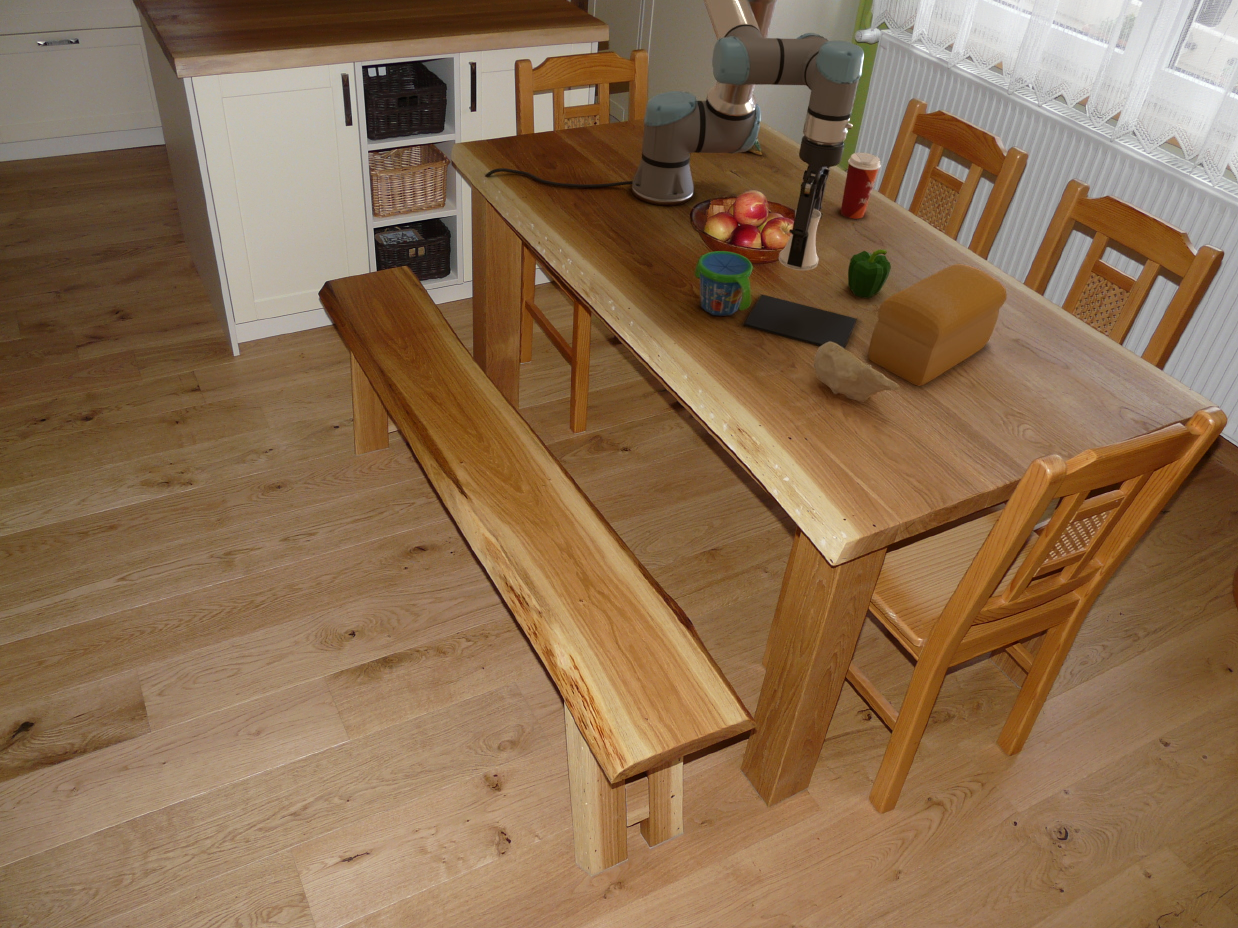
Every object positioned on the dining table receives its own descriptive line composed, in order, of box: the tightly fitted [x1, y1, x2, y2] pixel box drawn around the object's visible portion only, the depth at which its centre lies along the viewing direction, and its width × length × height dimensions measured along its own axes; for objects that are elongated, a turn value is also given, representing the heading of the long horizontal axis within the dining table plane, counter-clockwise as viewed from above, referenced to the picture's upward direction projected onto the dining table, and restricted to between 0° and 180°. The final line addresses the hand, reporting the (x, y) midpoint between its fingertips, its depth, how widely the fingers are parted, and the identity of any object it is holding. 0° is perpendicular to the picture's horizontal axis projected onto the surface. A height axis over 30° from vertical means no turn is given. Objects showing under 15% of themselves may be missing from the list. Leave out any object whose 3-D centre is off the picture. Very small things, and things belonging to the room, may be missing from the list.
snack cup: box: [694, 250, 754, 317], centre depth 185 cm, size 16×10×10 cm
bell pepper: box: [847, 249, 892, 299], centre depth 194 cm, size 8×8×10 cm
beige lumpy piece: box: [813, 341, 900, 403], centre depth 167 cm, size 15×7×15 cm
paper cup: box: [840, 152, 882, 220], centre depth 223 cm, size 8×8×14 cm
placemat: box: [743, 294, 857, 349], centre depth 186 cm, size 20×13×1 cm, turn 68°
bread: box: [867, 263, 1008, 387], centre depth 176 cm, size 24×13×15 cm, turn 132°
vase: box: [778, 208, 822, 271], centre depth 175 cm, size 8×8×10 cm
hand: (799, 257), depth 178 cm, fingers closed on vase, 6 cm apart
